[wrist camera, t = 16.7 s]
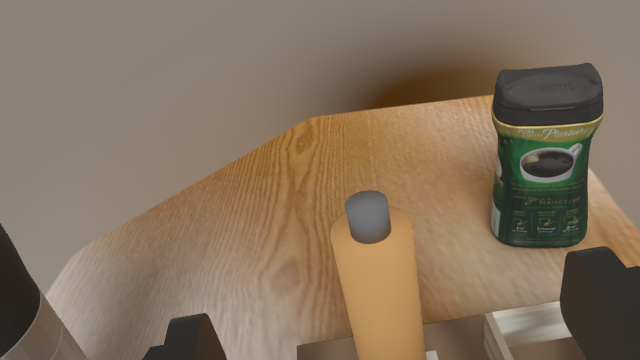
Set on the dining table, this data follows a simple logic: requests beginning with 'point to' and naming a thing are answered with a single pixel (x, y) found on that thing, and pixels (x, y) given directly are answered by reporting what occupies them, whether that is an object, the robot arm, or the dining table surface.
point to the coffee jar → (544, 153)
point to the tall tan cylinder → (379, 278)
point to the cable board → (479, 338)
